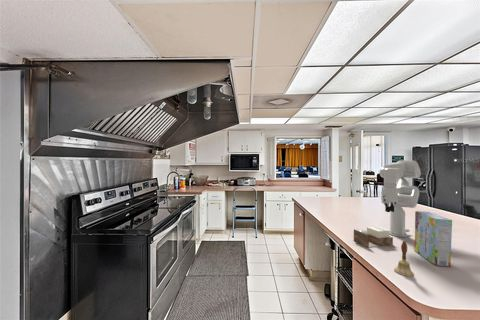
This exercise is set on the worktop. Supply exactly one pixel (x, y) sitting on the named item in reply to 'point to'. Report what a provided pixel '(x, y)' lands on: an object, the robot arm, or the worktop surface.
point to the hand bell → (403, 263)
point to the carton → (378, 232)
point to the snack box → (433, 238)
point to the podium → (371, 239)
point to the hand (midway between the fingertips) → (389, 211)
